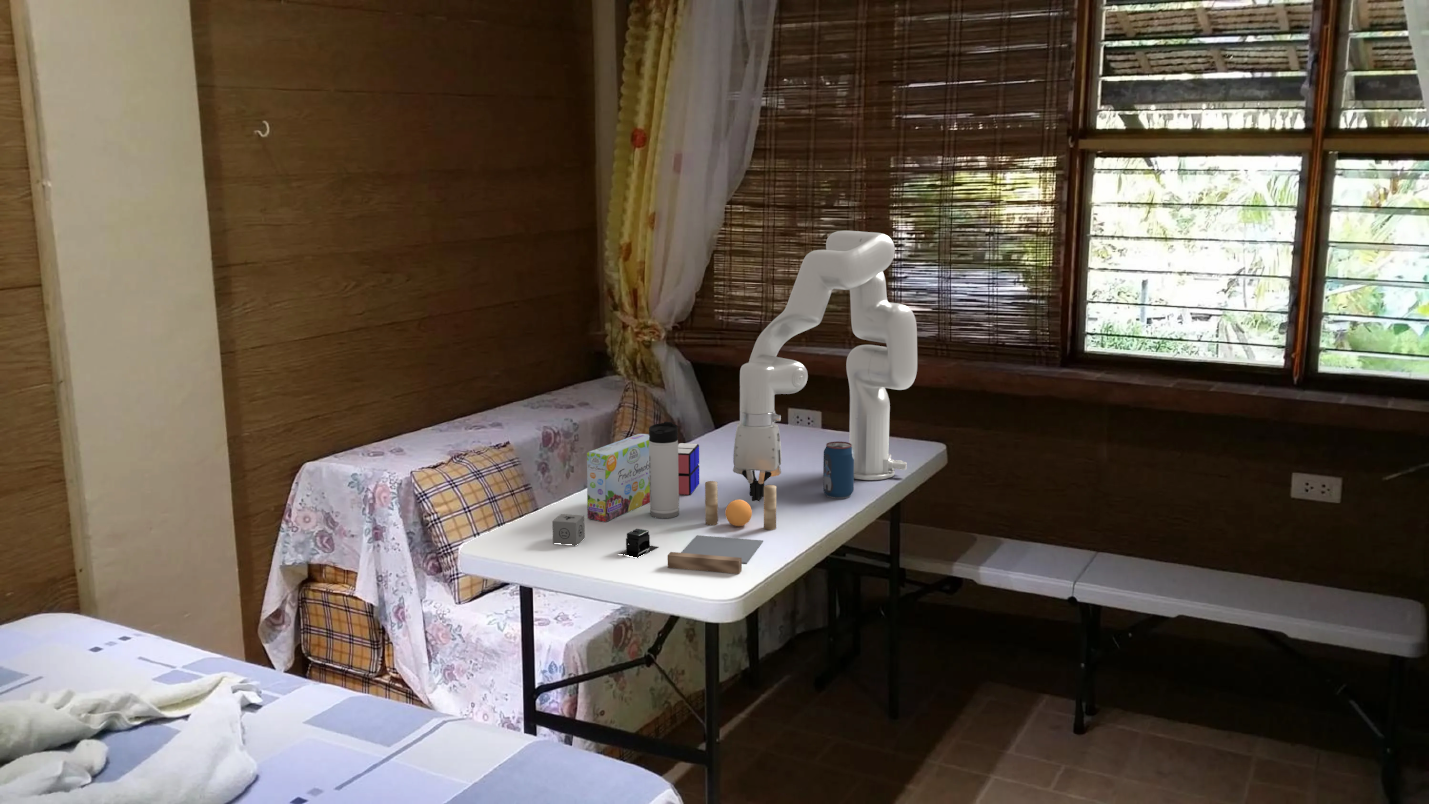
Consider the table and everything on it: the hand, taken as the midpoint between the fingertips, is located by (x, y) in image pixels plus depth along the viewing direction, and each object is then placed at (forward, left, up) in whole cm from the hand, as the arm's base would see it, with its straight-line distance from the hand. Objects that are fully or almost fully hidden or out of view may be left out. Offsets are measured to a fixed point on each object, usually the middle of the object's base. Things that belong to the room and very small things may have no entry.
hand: (757, 499), depth 275 cm
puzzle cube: (+22, -9, -2) cm, 24 cm away
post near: (-6, +15, -2) cm, 16 cm away
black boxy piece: (+16, +36, -2) cm, 39 cm away
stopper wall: (0, +43, -2) cm, 43 cm away
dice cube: (+31, +34, -2) cm, 46 cm away
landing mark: (0, +31, -2) cm, 31 cm away
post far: (+6, +15, -2) cm, 16 cm away
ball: (0, +15, +1) cm, 15 cm away
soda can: (-16, -13, -2) cm, 21 cm away
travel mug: (+18, +11, -2) cm, 21 cm away
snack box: (+28, +9, -2) cm, 29 cm away
